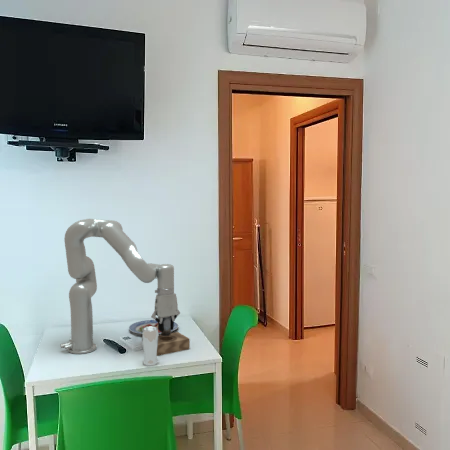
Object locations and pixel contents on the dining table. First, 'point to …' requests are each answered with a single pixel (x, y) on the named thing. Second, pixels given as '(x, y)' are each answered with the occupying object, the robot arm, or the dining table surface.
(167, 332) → the grey cylinder
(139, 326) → the ceramic plate
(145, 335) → the beer glass
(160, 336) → the block
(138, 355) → the dining table surface
